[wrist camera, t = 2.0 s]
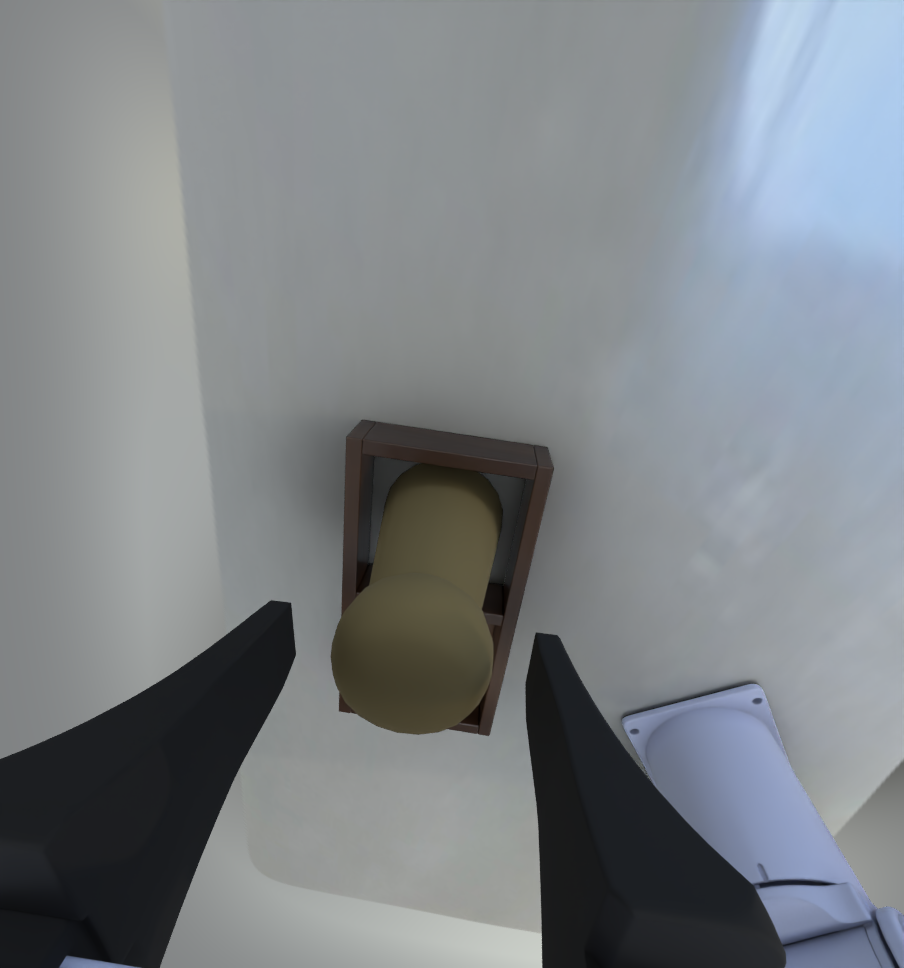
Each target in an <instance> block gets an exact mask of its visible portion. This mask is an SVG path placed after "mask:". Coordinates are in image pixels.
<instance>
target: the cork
mask: <svg viewBox="0 0 904 968" xmlns="http://www.w3.org/2000/svg"><path fill="white" fill-rule="evenodd" d="M502 516H503V509H502V506H501V502H500V499H499V495H498V493H497V492H496V490H495V489H494V488H493V486H492V485H491V483H490V482H489V481H488V479H486V478H485V477H484V476H482V475H481V474H480V473H478V472H477V471H471V470H464V469H457V468H451V467H444V466H437V465H431V464H424V463H422V464H418V465H415V466H414V467H412V468H410V469H409V470H407V471H406V472H404V473H402V474H401V475H400V476H399V477H398V479H397V480H396V481H395V482H394V484H393V485H392V486H391V487H390V490H389V493H388V496H387V499H386V502H385V506H384V511H383V516H382V522H381V527H380V532H379V537H378V542H377V547H376V553H375V558H374V563H373V568H372V573H371V578H370V583H369V586H368V587H366V588H365V589H364V590H363V591H362V592H361V593H360V594H359V595H358V596H357V597H356V598H355V600H354V601H353V602H352V603H351V604H350V605H349V607H348V608H347V609H346V610H345V611H344V613H343V615H342V617H341V619H340V621H339V623H338V626H337V629H336V632H335V636H334V639H333V642H332V650H331V662H332V670H333V676H334V679H335V683H336V686H337V688H338V690H339V692H340V694H341V695H342V697H343V699H344V701H345V703H346V704H347V705H348V706H349V707H351V708H352V709H353V710H354V711H355V712H356V713H357V714H358V715H359V716H360V717H362V718H364V719H365V720H367V721H369V722H371V723H372V724H374V725H376V726H378V727H381V728H384V729H388V730H391V731H394V732H397V733H407V734H418V735H419V734H427V733H435V732H440V731H443V730H445V729H448V728H450V727H453V726H455V725H457V724H458V723H460V722H461V721H462V720H463V719H464V718H466V717H467V716H468V715H469V714H470V713H471V712H472V711H473V710H474V709H475V708H476V707H477V706H478V705H479V703H480V701H481V699H482V697H483V696H484V694H485V692H486V690H487V688H488V685H489V682H490V679H491V676H492V668H493V640H492V637H491V634H490V631H489V628H488V625H487V622H486V619H485V616H484V613H483V611H482V606H483V602H484V598H485V594H486V590H487V586H488V582H489V578H490V573H491V569H492V565H493V561H494V557H495V553H496V549H497V544H498V540H499V536H500V532H501V528H502Z"/></svg>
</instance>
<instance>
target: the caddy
mask: <svg viewBox="0 0 904 968" xmlns="http://www.w3.org/2000/svg"><path fill="white" fill-rule="evenodd" d="M374 456H378V457H384V458H391V459H397V460H404V461H411V462H417V463H424V464H431V465H437V466H444V467H451V468H457V469H464V470H471V471H477V472H484V473H490V474H497V475H504V476H510V477H517V478H524V479H526V482H525V487H524V491H523V496H522V501H521V505H520V510H519V515H518V519H517V524H516V529H515V533H514V538H513V543H512V547H511V552H510V557H509V561H508V566H507V570H506V575H505V580H504V584H503V585H498V584H492V583H488V586H487V590H486V594H485V598H484V602H483V606H482V611H483V613H484V616H485V619H486V622H487V625H488V628H489V631H490V634H491V637H492V640H493V668H492V676H491V679H490V682H489V685H488V688H487V690H486V692H485V694H484V696H483V697H482V699H481V701H480V703H479V705H478V706H477V707H476V708H475V709H474V710H473V711H472V712H471V713H470V714H469V715H468V716H467V717H466V718H464V719H463V720H462V721H461V722H460V723H458V724H457V725H455V726H453V727H450V728H448V729H450V730H456V731H462V732H468V733H474V734H477V733H478V734H480V735H486V736H489V735H490V732H491V727H492V723H493V719H494V715H495V711H496V707H497V703H498V698H499V694H500V690H501V686H502V682H503V678H504V674H505V669H506V665H507V661H508V657H509V653H510V649H511V645H512V640H513V636H514V632H515V628H516V624H517V620H518V616H519V611H520V607H521V603H522V599H523V595H524V591H525V586H526V582H527V578H528V574H529V570H530V566H531V562H532V557H533V553H534V549H535V545H536V541H537V537H538V533H539V528H540V524H541V520H542V516H543V512H544V508H545V504H546V499H547V495H548V491H549V487H550V483H551V479H552V474H553V470H554V467H553V464H552V460H551V457H550V454H549V450H548V448H547V447H541V446H533V445H528V444H521V443H515V442H508V441H501V440H494V439H488V438H481V437H474V436H467V435H461V434H454V433H447V432H440V431H434V430H427V429H420V428H414V427H407V426H400V425H393V424H387V423H380V422H373V421H367V420H361V422H360V423H359V424H358V425H357V426H356V427H355V428H354V429H353V430H352V431H351V432H350V434H349V435H348V436H347V437H346V465H345V503H344V540H343V578H342V615H343V613H344V611H345V610H346V609H347V608H348V607H349V605H350V604H351V603H352V602H353V601H354V600H355V598H356V597H357V596H358V595H359V594H360V593H361V592H362V591H363V590H364V589H365V588H366V587H368V586H369V583H370V578H371V573H372V568H373V565H371V564H369V565H368V560H369V542H370V524H371V506H372V488H373V470H374ZM342 615H341V617H342ZM339 711H341V712H347V713H354V714H357V713H356V712H355V711H354V710H353V709H352V708H351V707H349V706H348V705H347V704H346V703H345V701H344V699H343V697H342V695H341V694H340V692H339Z"/></svg>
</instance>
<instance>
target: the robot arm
mask: <svg viewBox="0 0 904 968" xmlns="http://www.w3.org/2000/svg"><path fill="white" fill-rule="evenodd" d="M295 656H296V650H295V640H294V629H293V618H292V608H291V603H288V602H280V601H272V600H271V601H270V602H268V603H267V604H266V605H264V606H263V607H262V608H260V609H259V610H258V611H256V612H255V613H254V614H253V615H251V616H250V617H249V618H247V619H246V620H245V621H244V622H242V623H241V624H240V625H239V626H237V627H236V628H235V629H233V630H232V631H231V632H230V633H228V634H227V635H226V636H224V637H223V638H222V639H220V640H219V641H218V642H216V643H215V644H214V645H212V646H211V647H210V648H208V649H207V650H206V651H204V652H203V653H201V654H200V655H198V656H197V657H195V658H194V659H193V660H191V661H190V662H188V663H187V664H185V665H184V666H182V667H181V668H180V669H178V670H177V671H175V672H174V673H172V674H171V675H169V676H167V677H166V678H164V679H163V680H161V681H159V682H158V683H156V684H154V685H153V686H151V687H150V688H148V689H146V690H145V691H143V692H141V693H139V694H138V695H136V696H134V697H132V698H131V699H129V700H127V701H125V702H123V703H121V704H120V705H117V706H116V707H114V708H112V709H110V710H108V711H106V712H104V713H102V714H100V715H98V716H96V717H95V718H93V719H91V720H89V721H87V722H85V723H83V724H80V725H79V726H76V727H74V728H72V729H70V730H68V731H66V732H64V733H62V734H59V735H57V736H55V737H52V738H50V739H48V740H46V741H44V742H41V743H39V744H37V745H34V746H32V747H29V748H27V749H25V750H22V751H20V752H17V753H15V754H12V755H10V756H7V757H5V758H2V759H0V968H160V965H161V962H162V959H163V957H164V954H165V951H166V948H167V945H168V943H169V940H170V937H171V935H172V932H173V929H174V926H175V923H176V921H177V918H178V915H179V913H180V910H181V907H182V905H183V902H184V899H185V897H186V894H187V891H188V889H189V887H190V884H191V881H192V879H193V876H194V874H195V871H196V868H197V866H198V863H199V861H200V858H201V856H202V853H203V851H204V849H205V846H206V844H207V841H208V839H209V836H210V834H211V831H212V829H213V827H214V824H215V822H216V819H217V817H218V815H219V812H220V810H221V808H222V805H223V803H224V801H225V799H226V796H227V794H228V792H229V789H230V787H231V784H232V782H233V780H234V778H235V776H236V774H237V772H238V770H239V768H240V766H241V764H242V762H243V760H244V759H245V757H246V755H247V753H248V751H249V749H250V748H251V746H252V744H253V742H254V740H255V738H256V737H257V735H258V733H259V731H260V729H261V727H262V726H263V724H264V722H265V720H266V718H267V717H268V715H269V713H270V711H271V709H272V707H273V705H274V704H275V702H276V700H277V698H278V696H279V694H280V692H281V690H282V688H283V686H284V684H285V681H286V679H287V676H288V674H289V671H290V669H291V666H292V664H293V661H294V658H295ZM526 723H527V731H528V739H529V748H530V756H531V764H532V771H533V779H534V787H535V795H536V803H537V814H538V828H539V853H540V882H541V917H542V964H543V965H542V967H543V968H904V915H902V914H901V913H900V912H899V911H898V910H897V909H895V908H893V907H888V906H886V907H883V908H879V909H878V908H877V907H875V906H874V905H873V904H872V903H871V901H870V899H869V898H868V896H867V894H866V892H865V891H864V889H863V887H862V886H861V884H860V882H859V881H858V879H857V877H856V876H855V874H854V872H853V871H852V869H851V867H850V866H849V864H848V862H847V861H846V859H845V857H844V855H843V854H842V852H841V850H840V849H839V847H838V845H837V844H836V842H835V840H834V839H833V837H832V835H831V834H830V832H829V830H828V829H827V827H826V825H825V823H824V822H823V820H822V818H821V817H820V815H819V813H818V812H817V810H816V808H815V807H814V805H813V803H812V802H811V800H810V798H809V797H808V795H807V793H806V792H805V790H804V788H803V786H802V785H801V783H800V781H799V780H798V778H797V776H796V775H795V773H794V771H793V770H792V768H791V766H790V764H789V761H788V758H787V755H786V752H785V750H784V747H783V744H782V741H781V738H780V735H779V733H778V730H777V727H776V724H775V721H774V719H773V716H772V713H771V710H770V707H769V704H768V702H767V699H766V696H765V693H764V691H763V690H762V688H761V687H760V686H759V685H758V684H748V685H744V686H740V687H736V688H733V689H729V690H725V691H721V692H717V693H713V694H710V695H706V696H702V697H698V698H694V699H690V700H686V701H683V702H679V703H675V704H671V705H667V706H663V707H659V708H656V709H652V710H648V711H644V712H640V713H636V714H632V715H629V716H626V717H624V718H623V719H622V724H623V728H624V730H625V731H626V733H627V735H628V737H629V739H630V741H631V743H632V745H633V747H634V748H635V750H636V752H637V754H638V756H639V758H640V760H641V762H642V764H643V765H644V767H645V769H646V771H647V773H648V775H649V777H650V779H651V781H652V782H653V784H654V785H653V784H652V782H651V781H650V780H649V779H648V777H647V776H646V775H645V774H644V772H643V771H642V770H641V769H640V767H639V766H638V765H637V764H636V762H635V761H634V760H633V758H632V757H631V756H630V755H629V753H628V752H627V751H626V749H625V748H624V747H623V745H622V744H621V742H620V741H619V740H618V738H617V737H616V735H615V734H614V732H613V731H612V729H611V728H610V726H609V725H608V723H607V722H606V720H605V719H604V717H603V716H602V714H601V713H600V711H599V710H598V708H597V706H596V705H595V703H594V701H593V700H592V698H591V696H590V695H589V693H588V691H587V690H586V688H585V686H584V684H583V683H582V681H581V679H580V677H579V675H578V674H577V672H576V670H575V668H574V666H573V664H572V662H571V660H570V658H569V656H568V654H567V652H566V650H565V648H564V646H563V644H562V642H561V639H560V638H559V637H558V636H557V635H551V634H543V633H536V634H535V639H534V644H533V649H532V654H531V659H530V664H529V669H528V674H527V679H526Z"/></svg>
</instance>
